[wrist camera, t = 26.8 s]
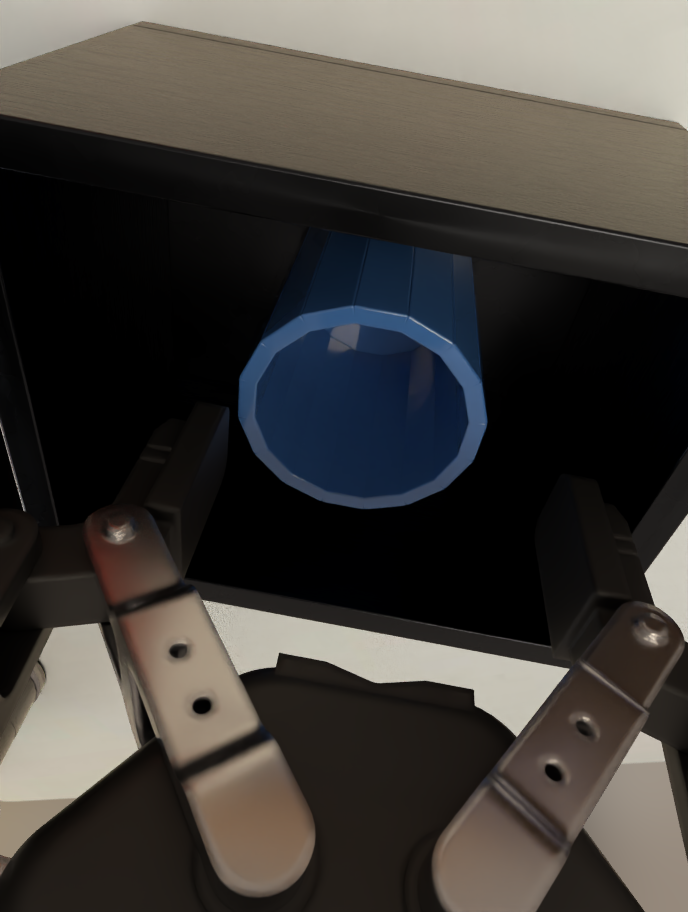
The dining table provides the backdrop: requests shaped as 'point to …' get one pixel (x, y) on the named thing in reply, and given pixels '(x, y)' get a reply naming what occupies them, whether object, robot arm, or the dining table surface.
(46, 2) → the dining table surface
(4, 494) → the black box lid
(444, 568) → the black lidded box
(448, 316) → the cup
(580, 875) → the robot arm
